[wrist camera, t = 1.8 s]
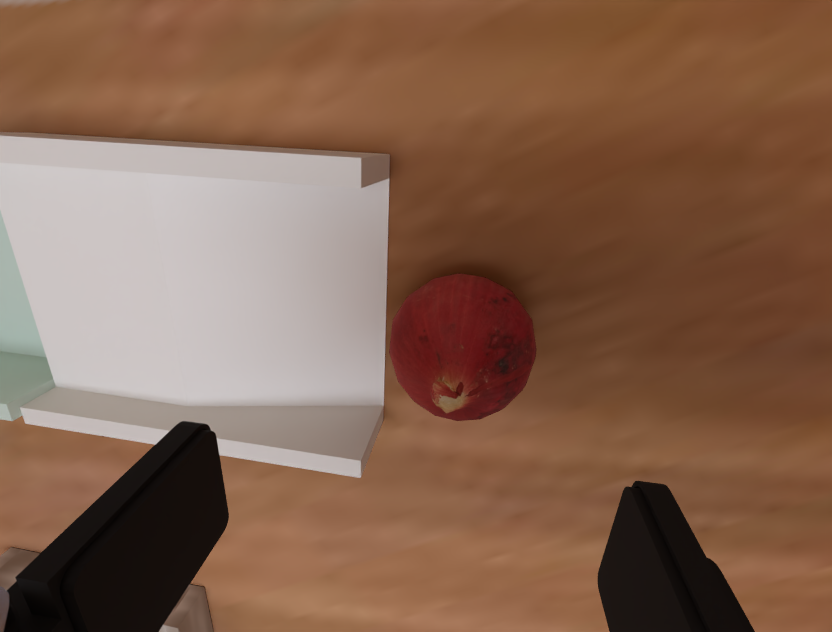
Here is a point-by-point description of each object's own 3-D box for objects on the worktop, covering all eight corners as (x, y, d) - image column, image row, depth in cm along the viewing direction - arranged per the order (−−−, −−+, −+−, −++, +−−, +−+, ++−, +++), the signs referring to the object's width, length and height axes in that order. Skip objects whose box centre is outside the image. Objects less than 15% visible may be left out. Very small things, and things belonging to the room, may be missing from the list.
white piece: (394, 153, 20) (361, 158, 15) (387, 410, 25) (360, 477, 20) (49, 132, 22) (-80, 130, 17) (110, 372, 27) (25, 423, 22)
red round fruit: (517, 242, 19) (532, 304, 12) (536, 356, 21) (559, 469, 14) (394, 267, 21) (341, 336, 13) (422, 372, 23) (389, 482, 15)
